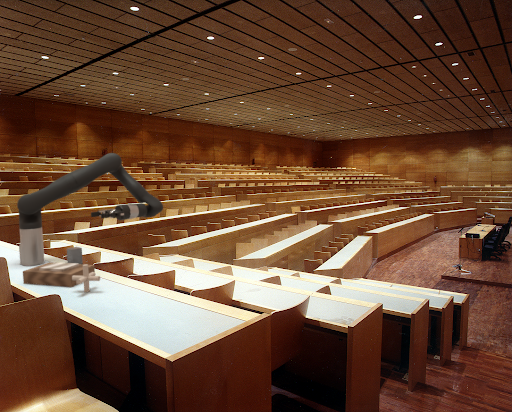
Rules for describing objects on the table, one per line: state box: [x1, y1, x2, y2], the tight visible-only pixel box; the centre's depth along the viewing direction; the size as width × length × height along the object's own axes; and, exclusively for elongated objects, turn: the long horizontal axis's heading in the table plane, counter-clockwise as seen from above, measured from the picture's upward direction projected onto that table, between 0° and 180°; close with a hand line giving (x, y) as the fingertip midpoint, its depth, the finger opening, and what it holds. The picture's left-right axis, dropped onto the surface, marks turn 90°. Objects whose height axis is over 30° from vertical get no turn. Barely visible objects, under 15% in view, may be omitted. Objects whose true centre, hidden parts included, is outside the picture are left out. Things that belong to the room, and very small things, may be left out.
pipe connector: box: [72, 264, 101, 293], centre depth 138 cm, size 10×10×10 cm
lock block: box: [66, 246, 84, 264], centre depth 167 cm, size 4×4×10 cm
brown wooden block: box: [22, 261, 96, 288], centre depth 153 cm, size 22×14×6 cm, turn 77°
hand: (96, 215), depth 174 cm, fingers open, 8 cm apart
